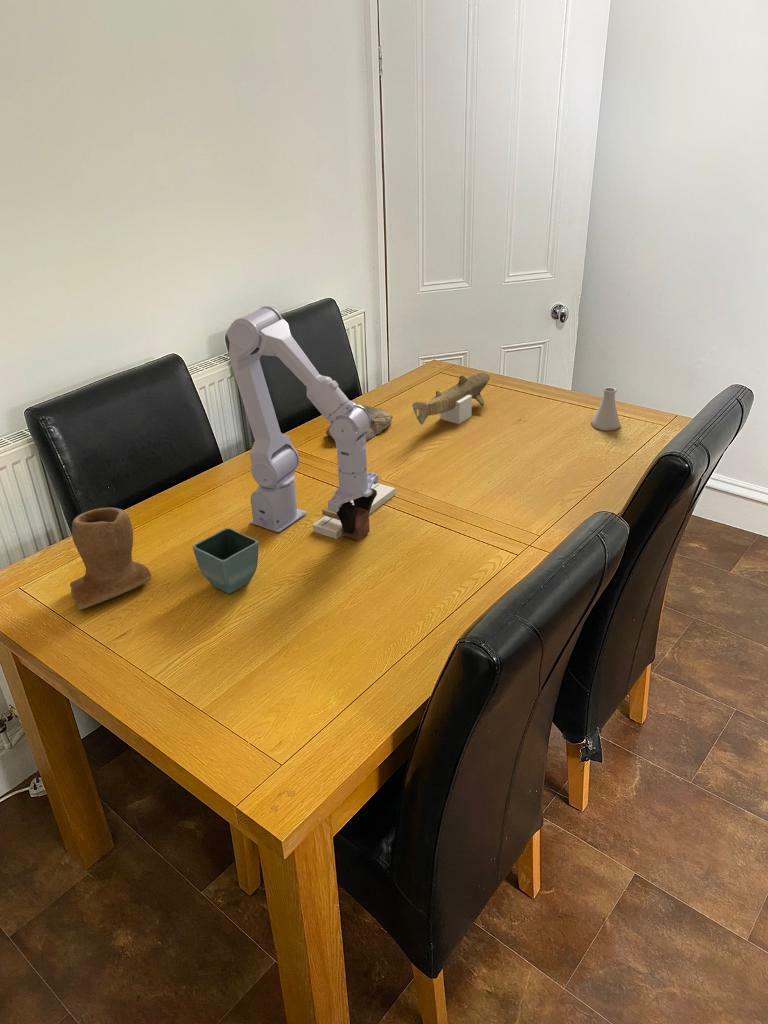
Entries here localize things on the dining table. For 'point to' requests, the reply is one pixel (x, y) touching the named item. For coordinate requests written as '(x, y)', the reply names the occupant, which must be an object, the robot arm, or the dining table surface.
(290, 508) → the robot arm
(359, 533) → the chocolate popsicle
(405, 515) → the dining table surface
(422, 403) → the wood carving
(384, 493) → the board
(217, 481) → the dining table surface
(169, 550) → the dining table surface
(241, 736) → the dining table surface
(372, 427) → the grey brown rock
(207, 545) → the flower pot
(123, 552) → the stone cup
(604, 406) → the flask
